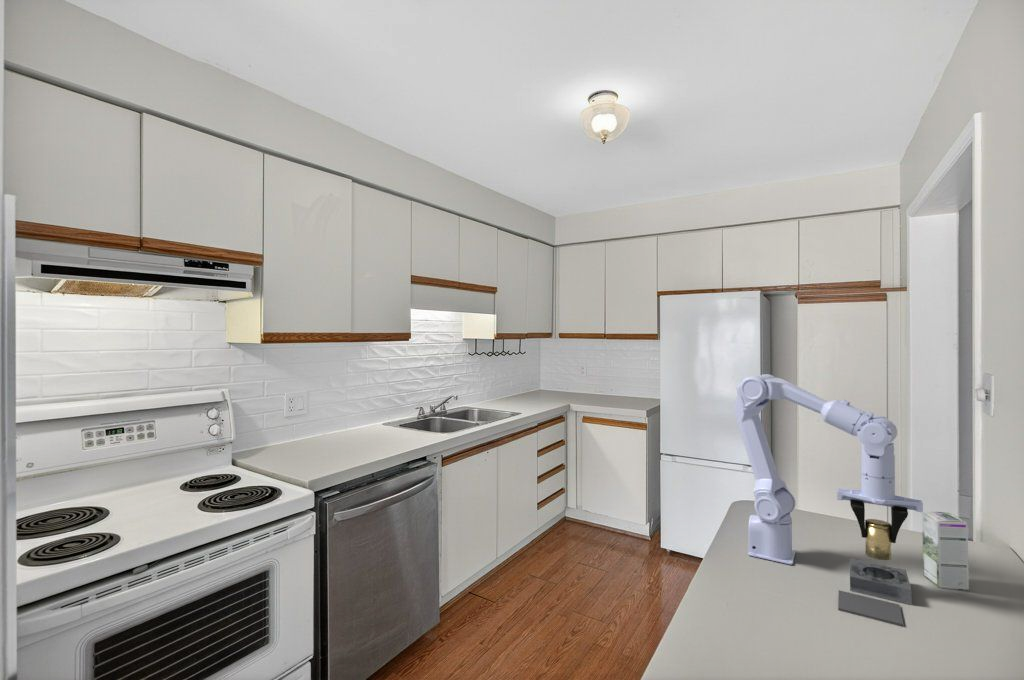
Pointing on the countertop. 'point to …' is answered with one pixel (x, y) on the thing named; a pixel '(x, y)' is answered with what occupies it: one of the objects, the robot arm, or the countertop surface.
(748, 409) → the robot arm
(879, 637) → the countertop surface
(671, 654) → the countertop surface
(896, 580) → the housing
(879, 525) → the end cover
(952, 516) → the syrup box
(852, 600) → the rubber mat
